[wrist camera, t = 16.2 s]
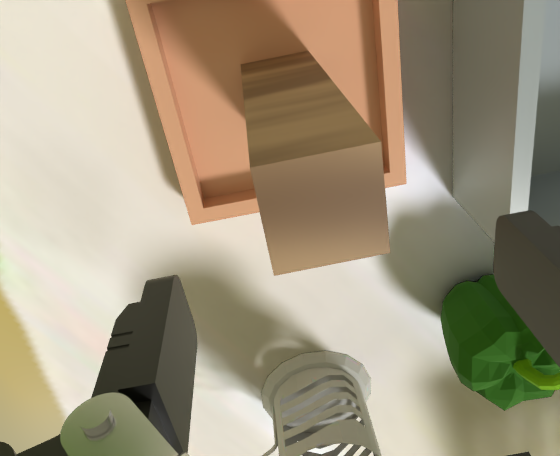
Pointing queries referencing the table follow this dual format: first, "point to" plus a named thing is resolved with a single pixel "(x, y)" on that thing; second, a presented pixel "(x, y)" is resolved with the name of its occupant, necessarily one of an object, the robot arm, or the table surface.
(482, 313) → the bell pepper
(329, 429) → the french press
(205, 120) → the terracotta tray
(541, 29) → the grey tub
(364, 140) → the walnut stick
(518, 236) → the robot arm
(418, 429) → the table surface
